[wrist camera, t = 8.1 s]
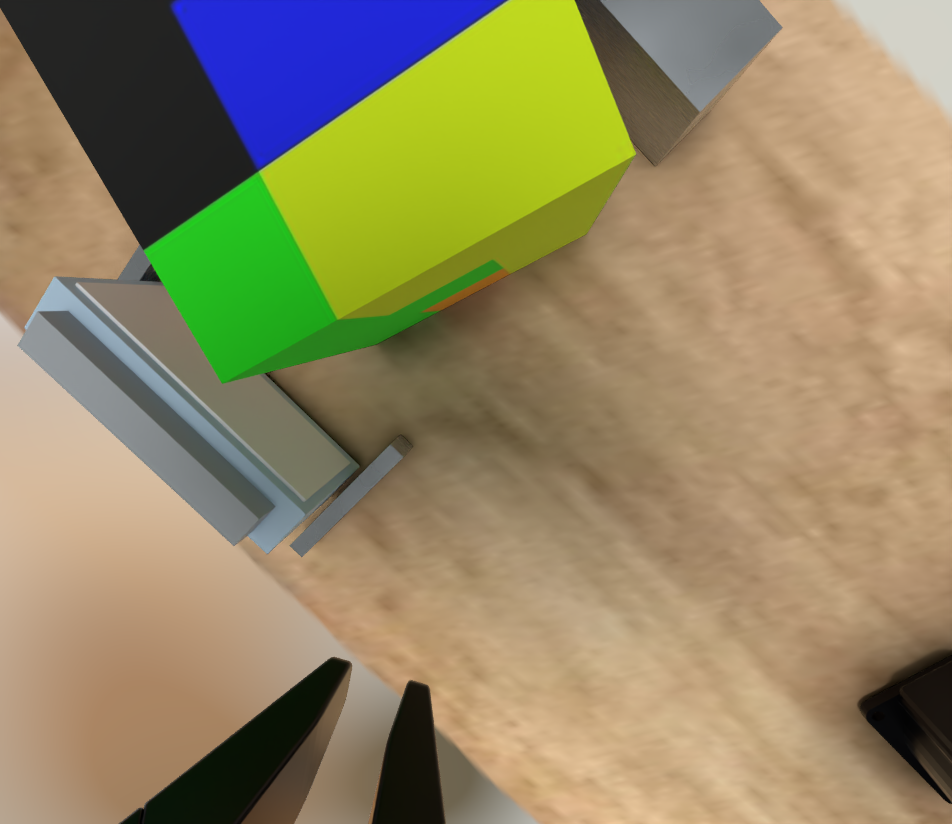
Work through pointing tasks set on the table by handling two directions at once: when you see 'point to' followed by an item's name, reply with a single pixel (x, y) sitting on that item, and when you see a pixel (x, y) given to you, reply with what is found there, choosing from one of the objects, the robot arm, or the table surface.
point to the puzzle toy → (332, 153)
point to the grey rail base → (641, 108)
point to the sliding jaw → (185, 408)
